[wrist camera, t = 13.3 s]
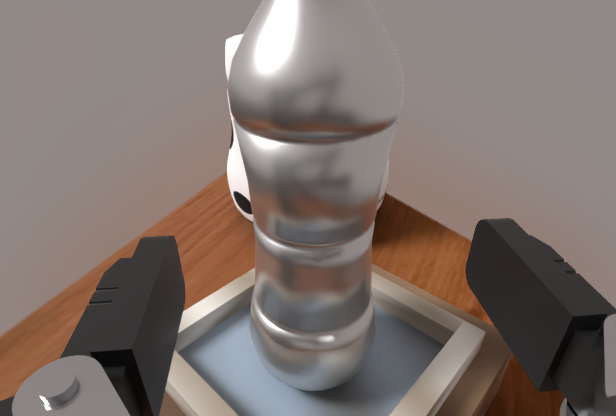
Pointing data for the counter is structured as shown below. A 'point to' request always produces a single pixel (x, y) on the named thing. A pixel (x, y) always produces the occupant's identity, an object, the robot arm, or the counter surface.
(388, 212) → the counter surface
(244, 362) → the wooden box
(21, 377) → the counter surface
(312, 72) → the silver metal bottle
